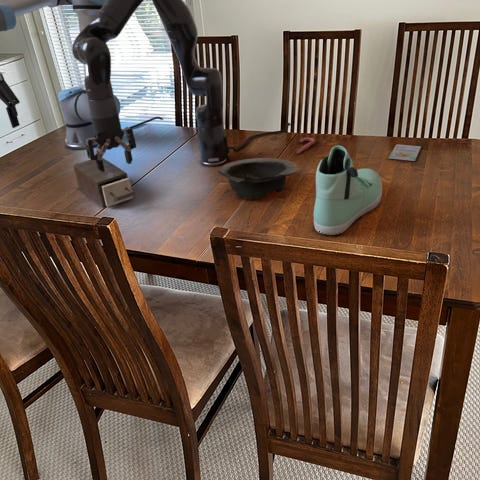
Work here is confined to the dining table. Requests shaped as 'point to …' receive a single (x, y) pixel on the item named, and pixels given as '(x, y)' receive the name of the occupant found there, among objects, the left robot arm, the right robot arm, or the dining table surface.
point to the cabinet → (96, 178)
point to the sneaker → (343, 192)
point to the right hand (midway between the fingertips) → (116, 167)
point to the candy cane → (306, 144)
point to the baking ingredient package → (405, 152)
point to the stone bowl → (257, 176)
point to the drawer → (117, 191)
